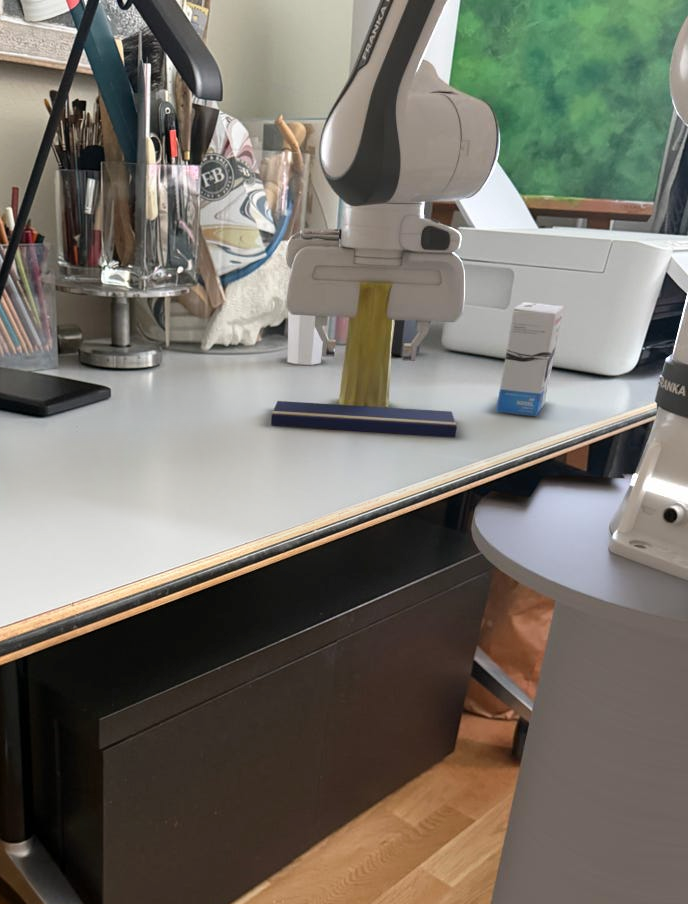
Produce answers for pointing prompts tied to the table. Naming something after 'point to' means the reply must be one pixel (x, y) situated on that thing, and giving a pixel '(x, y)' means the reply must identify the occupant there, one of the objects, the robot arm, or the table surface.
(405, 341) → the ink cartridge
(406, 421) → the navy blue flat box
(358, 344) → the vase
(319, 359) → the cup
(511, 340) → the ink box
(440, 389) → the table surface
